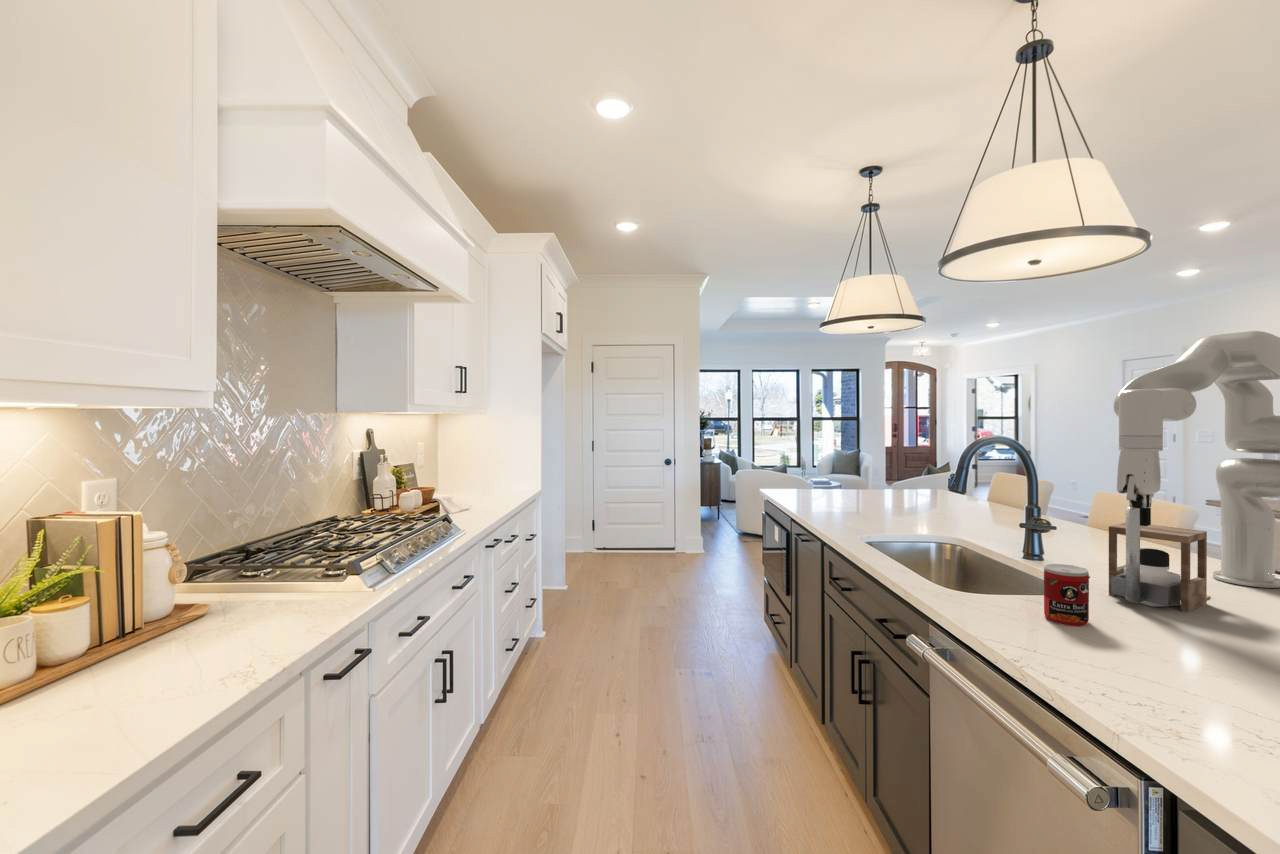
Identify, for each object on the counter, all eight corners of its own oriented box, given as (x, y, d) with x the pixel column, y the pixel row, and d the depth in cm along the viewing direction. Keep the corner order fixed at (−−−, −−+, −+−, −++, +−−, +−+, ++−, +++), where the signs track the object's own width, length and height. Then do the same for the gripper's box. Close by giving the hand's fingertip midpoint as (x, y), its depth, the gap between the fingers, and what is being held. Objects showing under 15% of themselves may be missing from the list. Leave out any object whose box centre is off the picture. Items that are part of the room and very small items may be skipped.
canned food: (1047, 623, 120) (1046, 570, 120) (1041, 611, 127) (1041, 562, 127) (1093, 629, 116) (1093, 575, 116) (1084, 617, 123) (1084, 565, 123)
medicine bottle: (1181, 606, 129) (1181, 553, 129) (1150, 606, 129) (1150, 553, 129) (1152, 596, 137) (1152, 546, 136) (1123, 597, 136) (1123, 546, 136)
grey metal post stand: (1130, 586, 139) (1130, 500, 139) (1186, 598, 130) (1186, 505, 130) (1103, 596, 132) (1102, 505, 132) (1159, 609, 123) (1159, 511, 123)
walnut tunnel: (1128, 588, 143) (1128, 522, 143) (1206, 603, 131) (1206, 531, 131) (1108, 594, 138) (1108, 526, 138) (1188, 612, 126) (1188, 536, 125)
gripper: (1134, 442, 137) (1134, 519, 137) (1104, 444, 129) (1104, 525, 130) (1175, 443, 130) (1175, 524, 130) (1146, 445, 123) (1146, 531, 123)
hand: (1140, 524), depth 130 cm, fingers closed
